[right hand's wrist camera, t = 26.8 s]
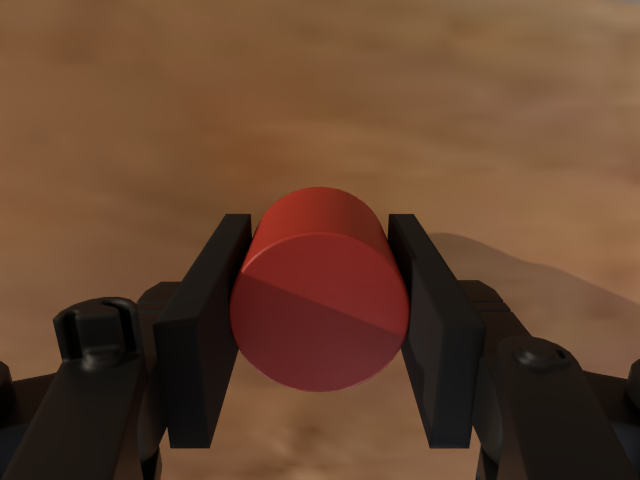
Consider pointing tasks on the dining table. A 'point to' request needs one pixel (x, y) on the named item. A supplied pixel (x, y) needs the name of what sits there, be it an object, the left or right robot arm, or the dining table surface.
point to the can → (319, 293)
